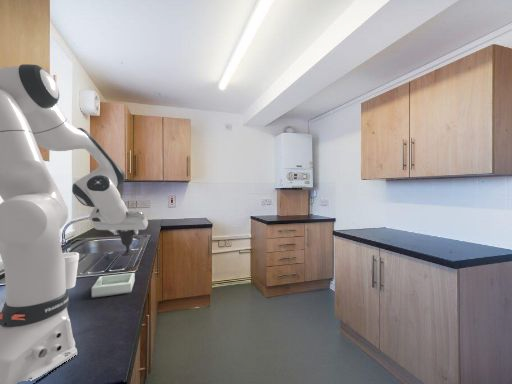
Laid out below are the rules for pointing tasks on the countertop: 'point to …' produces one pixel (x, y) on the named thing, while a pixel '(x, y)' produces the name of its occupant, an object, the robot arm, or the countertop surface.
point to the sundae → (126, 240)
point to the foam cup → (71, 268)
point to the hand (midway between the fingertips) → (126, 233)
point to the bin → (113, 285)
